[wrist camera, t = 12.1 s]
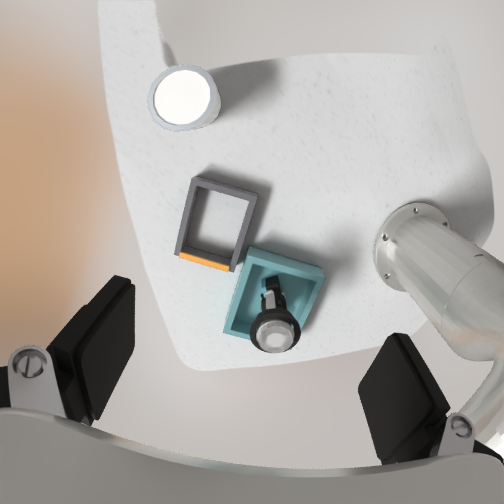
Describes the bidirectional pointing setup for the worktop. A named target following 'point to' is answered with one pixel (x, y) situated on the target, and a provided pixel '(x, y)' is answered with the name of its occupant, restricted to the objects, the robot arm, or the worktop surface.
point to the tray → (290, 278)
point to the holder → (180, 248)
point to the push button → (274, 320)
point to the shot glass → (184, 98)
